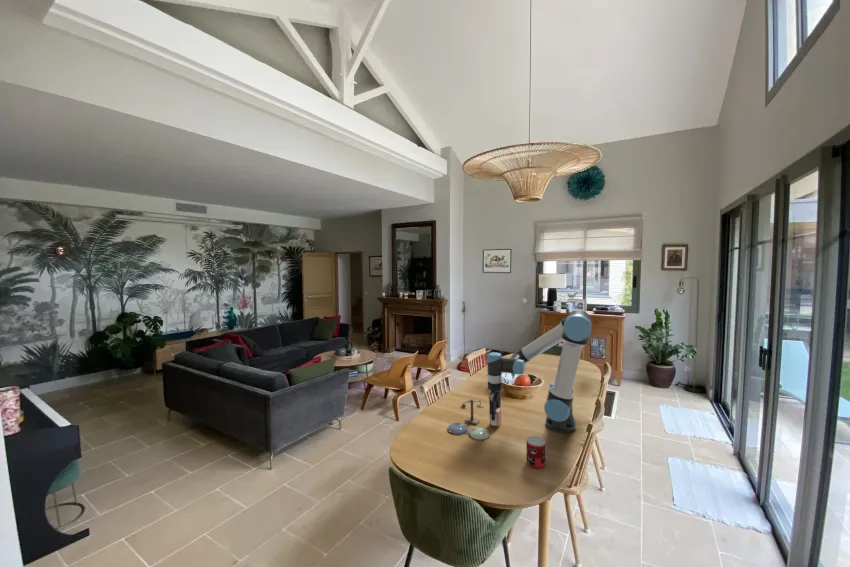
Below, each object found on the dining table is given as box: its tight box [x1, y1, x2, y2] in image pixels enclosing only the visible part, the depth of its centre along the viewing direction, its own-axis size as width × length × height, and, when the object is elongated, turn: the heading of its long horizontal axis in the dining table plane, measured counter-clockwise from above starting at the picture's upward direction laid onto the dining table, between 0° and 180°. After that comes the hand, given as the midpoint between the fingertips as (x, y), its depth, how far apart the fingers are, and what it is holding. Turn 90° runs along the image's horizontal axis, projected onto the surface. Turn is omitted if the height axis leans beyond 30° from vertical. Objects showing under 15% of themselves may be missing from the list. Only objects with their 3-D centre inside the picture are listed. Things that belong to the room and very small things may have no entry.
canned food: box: [525, 435, 546, 470], centre depth 156 cm, size 8×8×11 cm
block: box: [488, 407, 502, 427], centre depth 192 cm, size 5×5×8 cm
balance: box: [459, 399, 485, 426], centre depth 195 cm, size 14×4×14 cm, turn 62°
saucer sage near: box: [468, 427, 490, 441], centre depth 182 cm, size 10×10×1 cm
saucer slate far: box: [447, 422, 468, 435], centre depth 188 cm, size 10×10×1 cm
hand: (495, 422), depth 192 cm, fingers closed on block, 5 cm apart
